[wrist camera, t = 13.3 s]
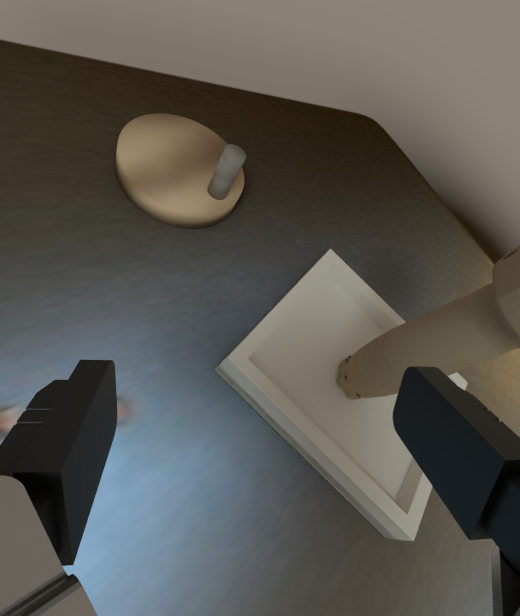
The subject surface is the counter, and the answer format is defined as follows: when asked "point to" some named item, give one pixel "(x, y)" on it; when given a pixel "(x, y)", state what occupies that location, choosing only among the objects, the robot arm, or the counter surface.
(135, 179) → the crank wheel
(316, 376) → the tray
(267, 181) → the counter surface
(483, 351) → the handle
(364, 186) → the counter surface
